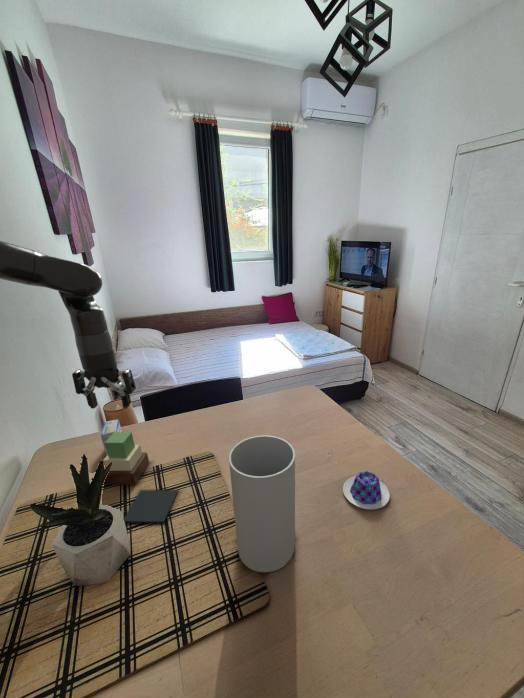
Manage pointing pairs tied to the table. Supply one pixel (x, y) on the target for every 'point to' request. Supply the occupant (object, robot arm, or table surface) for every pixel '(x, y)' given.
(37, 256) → the robot arm
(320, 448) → the table surface
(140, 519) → the rubber mat
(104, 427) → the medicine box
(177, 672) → the table surface
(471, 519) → the table surface
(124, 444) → the green cube
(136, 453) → the cream block
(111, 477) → the walnut block
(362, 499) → the pudding
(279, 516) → the cylinder vase
